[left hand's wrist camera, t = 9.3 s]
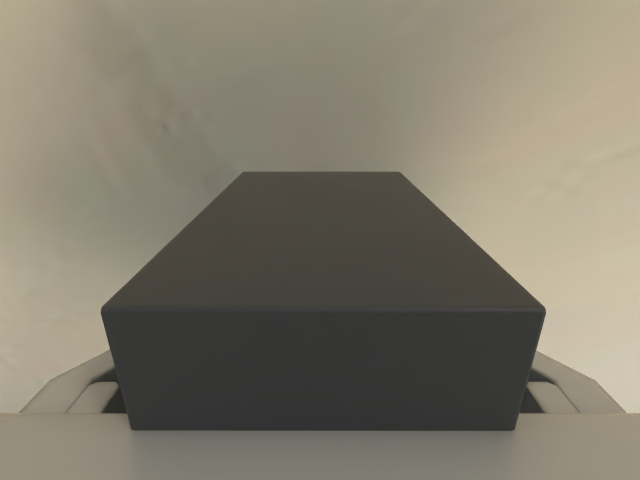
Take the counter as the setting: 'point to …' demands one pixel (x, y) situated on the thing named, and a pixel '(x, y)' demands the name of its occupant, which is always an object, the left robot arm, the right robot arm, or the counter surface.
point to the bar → (322, 315)
